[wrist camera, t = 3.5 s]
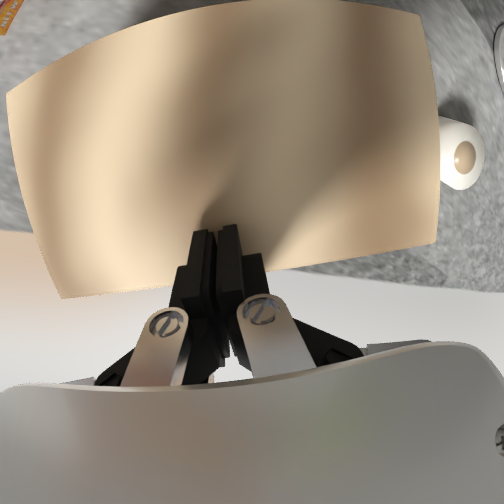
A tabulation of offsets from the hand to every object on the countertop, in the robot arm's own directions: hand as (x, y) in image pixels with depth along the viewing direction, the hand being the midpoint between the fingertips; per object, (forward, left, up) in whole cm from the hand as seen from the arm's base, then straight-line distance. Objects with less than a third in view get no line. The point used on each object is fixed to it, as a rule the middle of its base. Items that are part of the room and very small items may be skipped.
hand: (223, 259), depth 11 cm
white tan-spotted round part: (-20, -1, -12) cm, 24 cm away
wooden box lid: (-1, -4, -1) cm, 5 cm away
